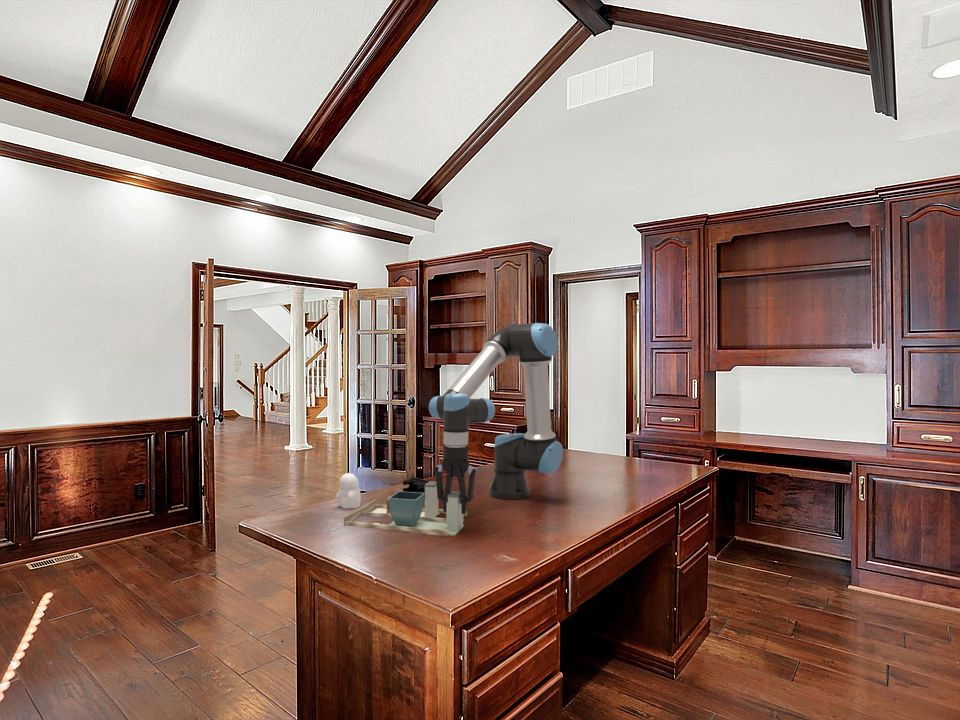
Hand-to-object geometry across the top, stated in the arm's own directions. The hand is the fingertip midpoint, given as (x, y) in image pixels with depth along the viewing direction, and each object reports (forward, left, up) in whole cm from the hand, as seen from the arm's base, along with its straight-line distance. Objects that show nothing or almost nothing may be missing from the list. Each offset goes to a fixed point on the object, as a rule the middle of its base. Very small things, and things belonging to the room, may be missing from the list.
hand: (454, 523), depth 168 cm
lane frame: (+16, -5, -2) cm, 17 cm away
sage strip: (+9, 0, -2) cm, 10 cm away
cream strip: (+20, -11, -2) cm, 23 cm away
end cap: (+24, -35, -2) cm, 43 cm away
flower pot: (+15, 0, -2) cm, 15 cm away
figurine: (+41, -14, -2) cm, 44 cm away
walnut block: (+23, -11, -2) cm, 26 cm away
